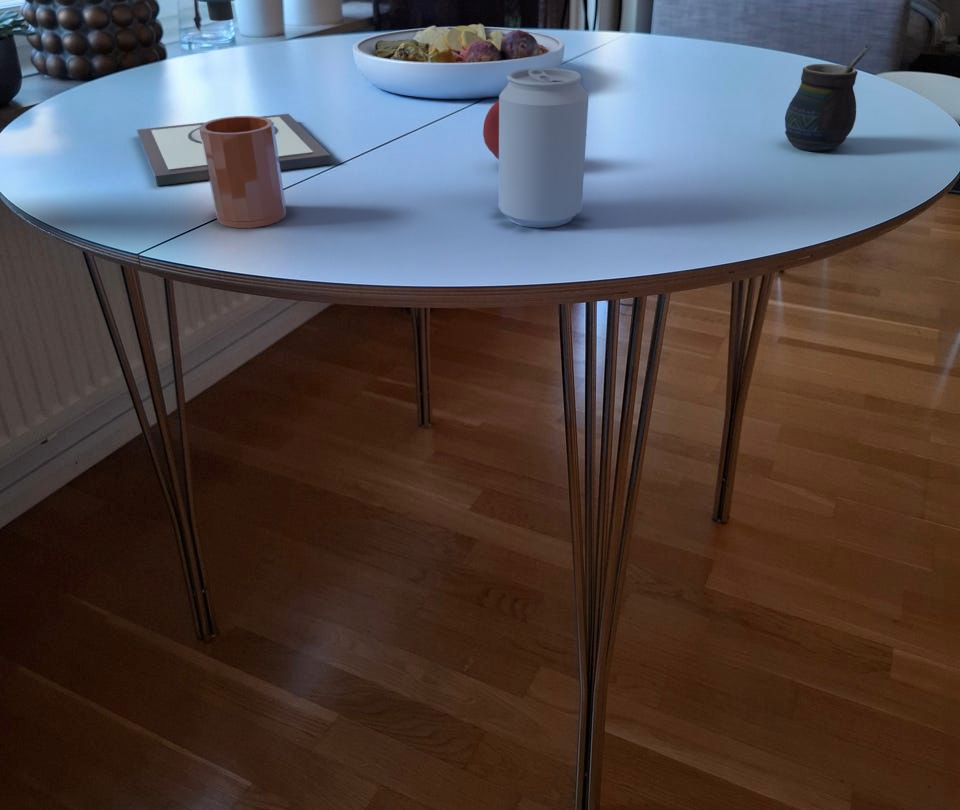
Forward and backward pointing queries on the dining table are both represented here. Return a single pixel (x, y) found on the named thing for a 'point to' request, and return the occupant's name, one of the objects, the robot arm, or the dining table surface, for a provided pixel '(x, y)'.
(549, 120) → the can
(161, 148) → the picture frame
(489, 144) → the onion
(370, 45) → the bowl
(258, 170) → the pen cup
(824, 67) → the mate gourd
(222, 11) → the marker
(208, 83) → the dining table surface
